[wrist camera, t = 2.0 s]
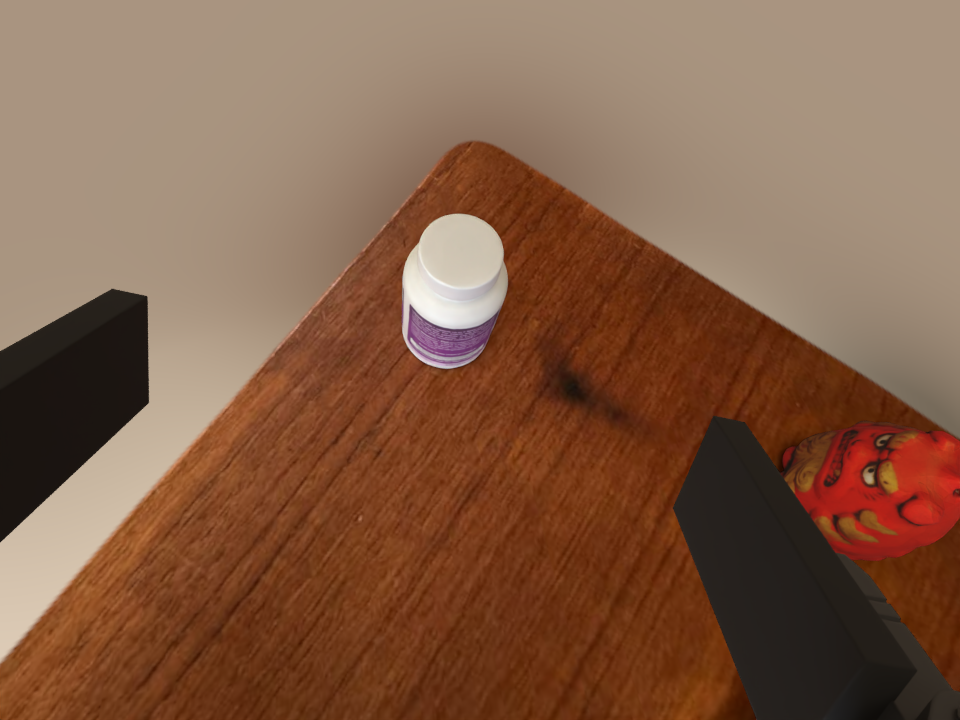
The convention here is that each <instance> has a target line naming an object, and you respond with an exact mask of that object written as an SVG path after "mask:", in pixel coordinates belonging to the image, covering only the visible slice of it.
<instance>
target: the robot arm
mask: <svg viewBox="0 0 960 720" xmlns="http://www.w3.org/2000/svg"><path fill="white" fill-rule="evenodd" d="M147 305H148V301H147V296H144V295H139V294H134V293H129V292H124V291H120V290H115V289H111V290H110V291H108V292H106V293H104V294H102V295H100V296H99V297H97V298H95V299H93V300H91V301H90V302H88V303H86V304H84V305H82V306H81V307H79V308H77V309H75V310H74V311H72V312H70V313H68V314H66V315H65V316H63V317H61V318H59V319H57V320H56V321H54V322H52V323H50V324H48V325H47V326H45V327H43V328H41V329H40V330H38V331H36V332H34V333H32V334H31V335H29V336H27V337H25V338H23V339H21V340H20V341H18V342H16V343H14V344H13V345H11V346H9V347H7V348H6V349H4V350H2V351H0V542H1V541H2V540H3V539H4V538H5V537H6V536H8V535H9V534H10V533H11V532H12V531H13V530H14V529H15V528H16V527H17V526H18V525H19V524H20V523H21V522H23V520H25V519H26V518H27V517H28V516H29V515H30V514H31V513H32V512H33V511H34V510H35V509H36V508H37V507H38V506H40V505H41V504H42V503H43V502H44V501H45V500H46V499H47V498H48V497H49V496H50V495H51V494H52V493H53V492H54V491H56V490H57V489H58V488H59V487H60V486H61V485H62V484H63V483H64V482H65V481H66V480H67V479H68V478H69V477H70V476H71V475H73V473H75V472H76V471H77V470H78V469H79V468H80V467H81V466H82V465H83V464H84V463H85V462H86V461H87V460H88V459H90V458H91V457H92V456H93V455H94V454H95V453H96V452H97V451H98V450H99V449H100V448H101V447H102V446H103V445H105V444H106V443H107V442H108V441H109V440H110V439H111V438H112V437H113V436H114V435H115V434H116V433H117V432H118V431H119V430H120V429H121V428H122V427H123V426H125V425H126V424H127V423H128V422H129V421H130V420H131V419H132V418H133V417H134V416H135V415H136V414H137V413H138V412H140V411H141V410H142V409H143V408H144V407H145V406H146V405H147V404H148V403H149V382H148V381H149V378H148V306H147ZM673 509H674V512H675V514H676V517H677V519H678V522H679V524H680V527H681V529H682V532H683V534H684V537H685V539H686V542H687V544H688V547H689V550H690V552H691V555H692V557H693V560H694V562H695V565H696V567H697V570H698V572H699V575H700V577H701V580H702V582H703V585H704V587H705V590H706V593H707V595H708V598H709V600H710V603H711V605H712V608H713V610H714V613H715V615H716V618H717V620H718V623H719V625H720V628H721V630H722V633H723V636H724V638H725V641H726V643H727V646H728V648H729V651H730V653H731V656H732V658H733V661H734V663H735V666H736V668H737V671H738V673H739V676H740V679H741V681H742V684H743V686H744V689H745V691H746V694H747V696H748V699H749V701H750V704H751V706H752V709H753V711H754V714H755V716H756V719H757V720H960V692H958V691H954V690H953V689H952V688H951V687H950V685H949V684H948V682H947V681H946V680H945V678H944V677H943V676H942V674H941V673H940V672H939V670H938V669H937V667H936V666H935V665H934V663H933V662H932V661H931V659H930V658H929V657H928V655H927V654H926V652H925V651H924V650H923V648H922V647H921V646H920V644H919V643H918V642H917V640H916V639H915V637H914V636H913V635H912V633H911V632H910V631H909V629H908V628H907V626H906V625H905V624H904V623H901V622H900V619H901V618H900V617H899V616H898V614H897V613H896V611H895V610H894V609H893V607H892V606H891V605H890V604H887V603H886V600H887V599H886V598H885V596H884V595H883V594H882V592H881V591H880V590H879V588H878V587H877V585H876V584H875V583H874V581H873V580H872V579H871V577H870V576H869V575H868V574H867V573H865V572H864V571H863V570H862V569H861V568H860V567H859V566H858V565H856V564H855V563H854V562H853V561H852V560H851V559H850V558H849V557H847V556H846V555H845V554H840V553H835V551H834V550H833V548H832V547H831V546H830V544H829V543H828V541H827V540H826V538H825V537H824V536H823V534H822V533H821V531H820V530H819V528H818V527H817V525H816V524H815V523H814V521H813V520H812V518H811V517H810V515H809V514H808V513H807V511H806V510H805V508H804V507H803V505H802V504H801V502H800V501H799V500H798V498H797V497H796V495H795V494H794V492H793V491H792V490H791V488H790V487H789V485H788V484H787V482H786V481H785V480H784V478H783V477H782V475H781V474H780V472H779V471H778V469H777V468H776V467H775V465H774V464H773V462H772V461H771V459H770V458H769V457H768V455H767V454H766V452H765V451H764V449H763V448H762V446H761V445H760V444H759V442H758V441H757V439H756V438H755V436H754V435H753V434H752V432H751V431H750V429H749V428H748V426H747V425H746V424H745V422H741V421H736V420H731V419H726V418H722V417H717V416H713V418H712V421H711V423H710V425H709V428H708V430H707V432H706V434H705V437H704V439H703V441H702V443H701V446H700V448H699V450H698V452H697V455H696V457H695V459H694V461H693V464H692V466H691V468H690V471H689V473H688V475H687V477H686V480H685V482H684V484H683V486H682V489H681V491H680V493H679V495H678V498H677V500H676V502H675V504H674V507H673Z"/></svg>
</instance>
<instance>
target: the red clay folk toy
mask: <svg viewBox="0 0 960 720" xmlns="http://www.w3.org/2000/svg"><path fill="white" fill-rule="evenodd" d="M782 463H783V467H784V471H783V472H780V474H781V475H782V477H783V478H784V480H785V481H786V482H787V484H788V485H789V487H790V488H791V490H792V491H793V492H794V494H795V495H796V497H797V498H798V500H799V501H800V502H801V504H802V505H803V507H804V508H805V510H806V511H807V513H808V514H809V515H810V517H811V518H812V520H813V521H814V523H815V524H816V525H817V527H818V528H819V530H820V531H821V533H822V534H823V536H824V537H825V538H826V540H827V541H828V543H829V544H830V546H831V547H832V548H833V550H834V551H835V553H840V554H845V555H846V556H847V557H849V558H850V559H851V560H868V561H879V560H882V559H885V558H887V557H893V558H896V557H899V556H903V555H905V554H907V553H909V552H911V551H912V550H914V549H916V548H918V547H919V546H926V545H929V544H932V543H934V542H936V541H937V540H939V539H940V538H942V537H943V536H944V535H945V534H946V533H947V532H948V531H949V530H950V529H951V528H952V527H953V526H954V525H955V523H956V522H957V521H958V519H959V518H960V441H959V440H957V439H956V438H954V437H953V436H951V435H949V434H947V433H946V432H944V431H929V432H923V431H920V430H918V429H915V428H912V427H907V426H899V425H896V424H893V423H889V422H879V423H875V422H870V421H860V422H858V423H857V424H855V425H854V426H852V427H850V428H847V429H841V430H835V431H829V432H824V433H821V434H815V435H813V436H811V437H809V438H806V439H804V440H803V441H802V442H801V443H800V444H799V446H793V447H790V448H788V449H786V451H785V453H784V454H783V459H782Z"/></svg>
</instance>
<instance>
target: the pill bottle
mask: <svg viewBox="0 0 960 720" xmlns="http://www.w3.org/2000/svg"><path fill="white" fill-rule="evenodd" d="M503 258H504V251H503V246H502V242H501V240H500V237H499V236H498V234H497V233H496V231H495V230H494V229H493V228H492V227H491V226H490V225H489V224H488V223H486V222H485V221H483V220H481V219H479V218H477V217H475V216H471V215H467V214H451V215H446V216H443V217H440V218H438V219H437V220H435V221H434V222H432V223H431V224H430V225H429V226H428V227H427V228H426V229H425V231H424V232H423V234H422V236H421V239H420V242H419V244H417V245H416V247H415V248H414V249H413V250H412V252H411V253H410V255H409V256H408V259H407V261H406V264H405V267H404V272H403V288H402V331H403V336H404V339H405V342H406V344H407V346H408V348H409V349H410V350H411V352H412V353H413V354H414V355H415V356H416V357H417V358H418V359H419V360H421V361H423V362H424V363H426V364H429V365H432V366H435V367H438V368H446V369H449V368H456V367H460V366H463V365H465V364H468V363H469V362H471V361H473V360H474V359H475V358H477V357H478V356H479V354H480V353H481V352H482V351H483V349H484V348H485V346H486V344H487V341H488V339H489V337H490V334H491V332H492V329H493V327H494V325H495V323H496V320H497V317H498V314H499V312H500V309H501V307H502V304H503V302H504V299H505V296H506V292H507V286H508V276H507V270H506V267H505V264H504V262H503Z"/></svg>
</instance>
